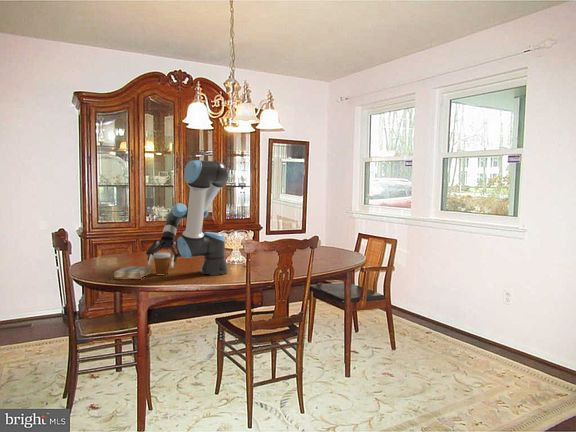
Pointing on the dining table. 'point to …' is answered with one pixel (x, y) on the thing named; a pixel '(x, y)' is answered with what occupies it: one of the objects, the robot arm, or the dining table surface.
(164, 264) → the disposable coffee cup
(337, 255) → the dining table surface
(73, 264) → the dining table surface
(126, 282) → the dining table surface
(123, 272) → the birch base block
